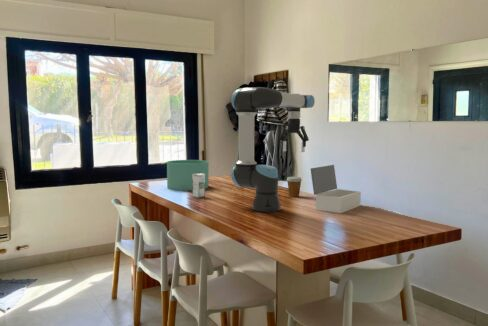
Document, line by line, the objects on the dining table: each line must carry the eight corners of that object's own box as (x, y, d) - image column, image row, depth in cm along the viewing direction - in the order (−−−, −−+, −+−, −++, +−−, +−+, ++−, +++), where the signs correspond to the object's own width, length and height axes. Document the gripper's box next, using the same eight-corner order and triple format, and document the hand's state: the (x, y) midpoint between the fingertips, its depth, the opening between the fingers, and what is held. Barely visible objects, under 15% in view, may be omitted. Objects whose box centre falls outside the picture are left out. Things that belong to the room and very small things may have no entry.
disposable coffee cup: (301, 197, 255) (301, 178, 254) (285, 197, 257) (286, 178, 256) (301, 195, 264) (302, 176, 263) (287, 194, 266) (287, 176, 265)
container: (164, 185, 306) (164, 160, 304) (203, 183, 315) (203, 159, 313) (170, 191, 278) (169, 163, 276) (212, 189, 287) (212, 163, 285)
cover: (312, 168, 219) (310, 168, 219) (315, 194, 218) (313, 194, 219) (333, 164, 239) (332, 165, 240) (337, 188, 239) (335, 188, 239)
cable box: (340, 213, 210) (340, 197, 210) (316, 209, 219) (316, 194, 218) (360, 205, 231) (360, 191, 230) (337, 202, 239) (337, 189, 239)
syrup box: (198, 195, 261) (198, 172, 259) (205, 196, 257) (205, 173, 256) (192, 196, 256) (191, 173, 255) (198, 197, 253) (198, 174, 251)
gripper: (314, 118, 257) (313, 152, 259) (280, 118, 272) (280, 150, 274) (308, 118, 251) (308, 152, 253) (274, 118, 266) (274, 151, 268)
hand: (293, 151), depth 263 cm, fingers open, 13 cm apart
